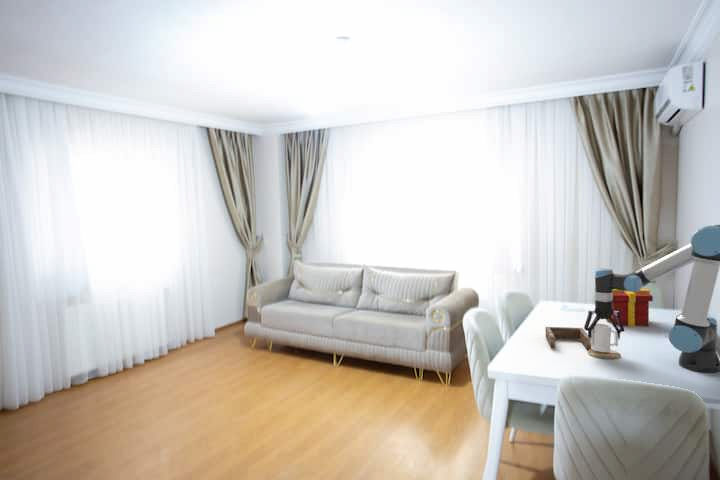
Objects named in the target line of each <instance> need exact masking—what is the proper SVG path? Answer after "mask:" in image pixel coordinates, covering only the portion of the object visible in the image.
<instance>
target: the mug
mask: <svg viewBox="0 0 720 480" xmlns="http://www.w3.org/2000/svg"><path fill="white" fill-rule="evenodd" d="M592 331H593V345H591V349H593V350H595V351H599V352H610V351H611V350H612V349H611V347H614V346H616V344H617V343H618V344H619V341H620V339H619V338H618V335H617V333H616V332H615V331H616V330H614V329H613V330H612V326H611V325H609V324H605V323H597V324H596V325H595V327H594V328H593V330H592ZM612 333H613V334H616V336H617V342H616V343H614V342H613V343H611V341H612V340H611V336H612V335H611V334H612Z"/></svg>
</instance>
